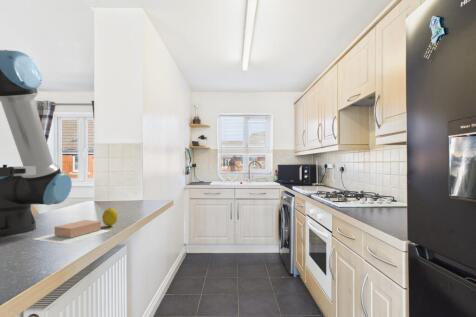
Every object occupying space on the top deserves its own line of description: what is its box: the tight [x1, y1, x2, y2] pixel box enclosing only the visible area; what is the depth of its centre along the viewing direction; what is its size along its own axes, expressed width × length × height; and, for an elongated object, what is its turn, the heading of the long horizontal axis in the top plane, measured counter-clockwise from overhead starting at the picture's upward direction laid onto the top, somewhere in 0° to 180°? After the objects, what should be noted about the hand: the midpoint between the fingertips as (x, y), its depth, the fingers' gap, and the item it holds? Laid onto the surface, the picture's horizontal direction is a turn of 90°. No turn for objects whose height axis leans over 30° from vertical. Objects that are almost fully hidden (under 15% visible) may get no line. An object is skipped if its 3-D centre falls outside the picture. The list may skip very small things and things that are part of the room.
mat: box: [33, 229, 112, 245], centre depth 91 cm, size 16×18×1 cm
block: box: [53, 219, 102, 238], centre depth 93 cm, size 8×3×12 cm
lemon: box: [102, 207, 118, 228], centre depth 104 cm, size 6×6×8 cm
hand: (34, 170), depth 79 cm, fingers closed
